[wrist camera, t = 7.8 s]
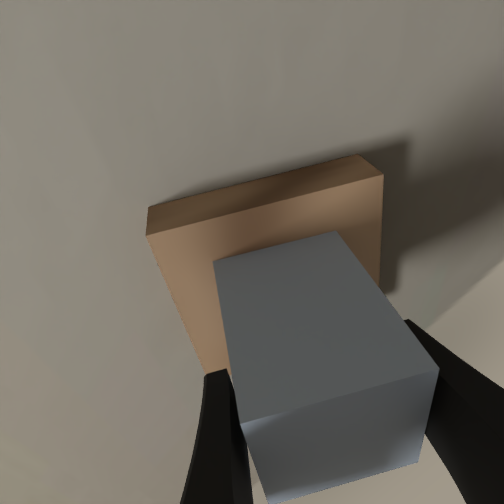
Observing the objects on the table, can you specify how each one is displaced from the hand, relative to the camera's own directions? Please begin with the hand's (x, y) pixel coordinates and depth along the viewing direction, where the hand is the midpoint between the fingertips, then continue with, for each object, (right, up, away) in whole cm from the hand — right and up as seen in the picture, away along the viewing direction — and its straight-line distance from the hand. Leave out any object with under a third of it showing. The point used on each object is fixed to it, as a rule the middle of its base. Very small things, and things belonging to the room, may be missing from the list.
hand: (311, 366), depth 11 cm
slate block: (-1, +2, +3) cm, 4 cm away
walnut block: (-1, +3, +5) cm, 6 cm away
